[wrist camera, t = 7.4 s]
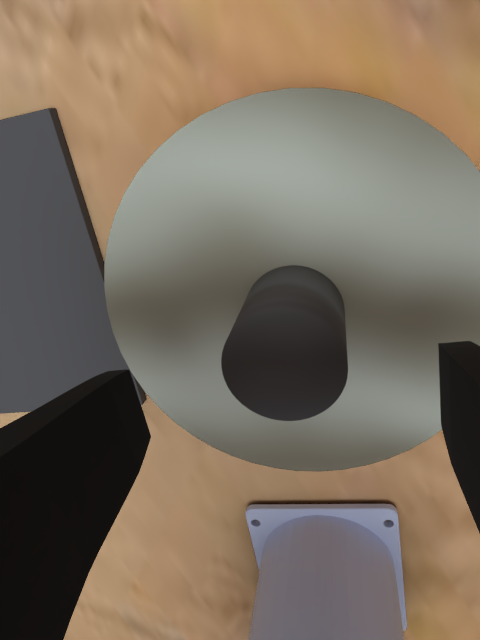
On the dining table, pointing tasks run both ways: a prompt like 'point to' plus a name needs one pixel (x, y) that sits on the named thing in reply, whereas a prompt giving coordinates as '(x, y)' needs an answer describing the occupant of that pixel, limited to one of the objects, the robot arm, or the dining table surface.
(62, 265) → the mat
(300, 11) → the dining table surface
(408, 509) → the dining table surface
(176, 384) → the lid
